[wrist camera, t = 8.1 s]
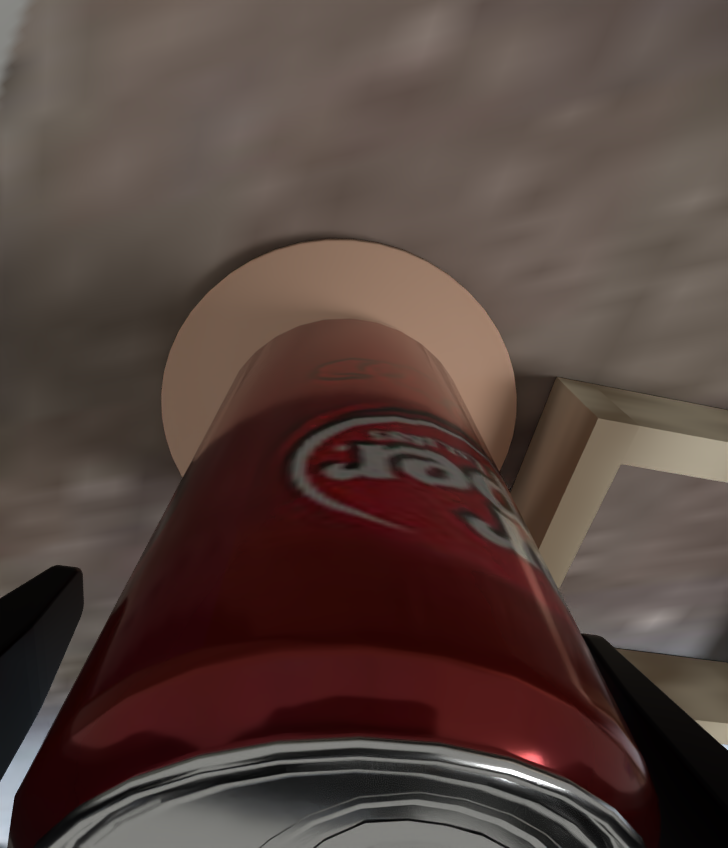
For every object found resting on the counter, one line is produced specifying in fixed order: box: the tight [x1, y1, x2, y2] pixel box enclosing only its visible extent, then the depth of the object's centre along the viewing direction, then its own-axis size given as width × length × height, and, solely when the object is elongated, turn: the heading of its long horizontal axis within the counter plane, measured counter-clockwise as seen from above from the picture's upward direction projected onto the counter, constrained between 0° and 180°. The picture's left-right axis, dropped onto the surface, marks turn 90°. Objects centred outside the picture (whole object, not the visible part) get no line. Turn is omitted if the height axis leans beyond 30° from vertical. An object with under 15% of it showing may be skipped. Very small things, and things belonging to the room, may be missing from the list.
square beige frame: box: [510, 377, 728, 745], centre depth 18 cm, size 14×12×3 cm
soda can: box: [7, 318, 661, 848], centre depth 11 cm, size 7×7×12 cm
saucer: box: [161, 239, 517, 477], centre depth 16 cm, size 11×11×1 cm
